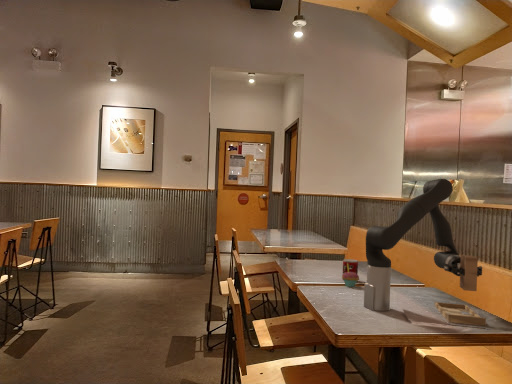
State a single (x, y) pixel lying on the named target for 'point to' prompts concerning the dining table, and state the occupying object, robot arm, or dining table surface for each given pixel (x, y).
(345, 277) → the cupcake
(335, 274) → the dining table surface
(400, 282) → the dining table surface
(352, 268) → the canned food
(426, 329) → the dining table surface
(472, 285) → the walnut block
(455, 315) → the tray
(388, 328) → the dining table surface
